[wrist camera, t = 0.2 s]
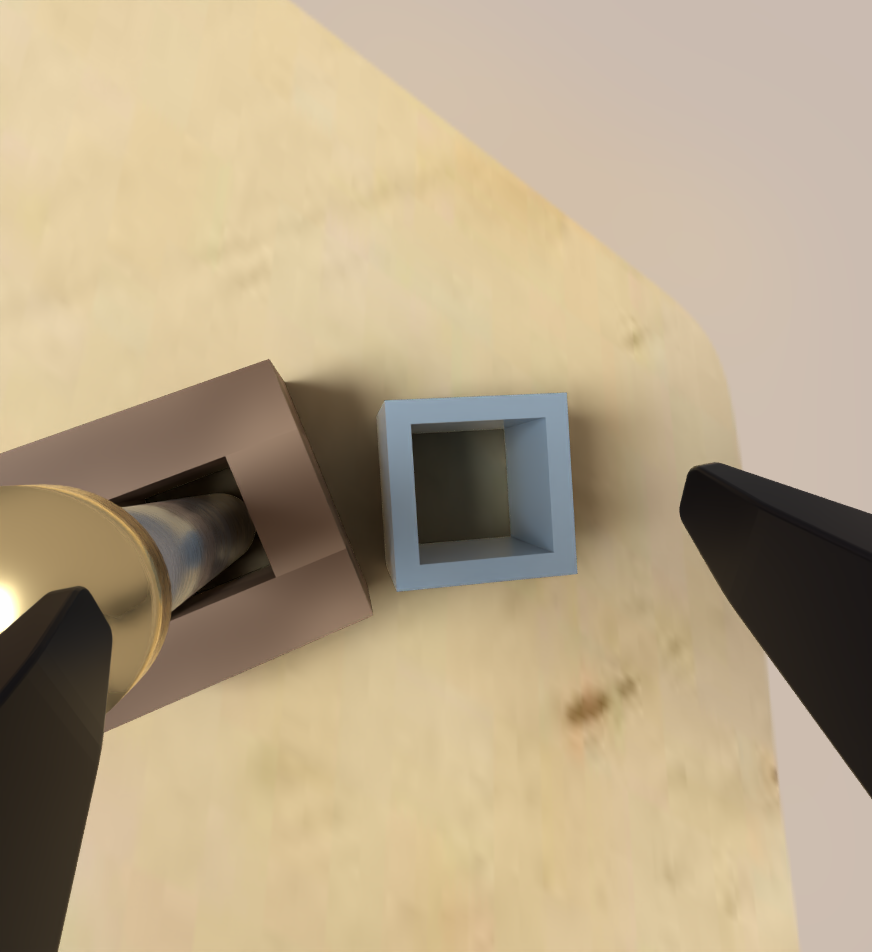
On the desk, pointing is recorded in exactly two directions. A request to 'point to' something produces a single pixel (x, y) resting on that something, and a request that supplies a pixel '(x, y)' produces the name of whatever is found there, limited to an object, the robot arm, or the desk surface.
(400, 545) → the holder
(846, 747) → the robot arm
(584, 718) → the desk surface
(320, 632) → the hitch block
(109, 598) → the pin
